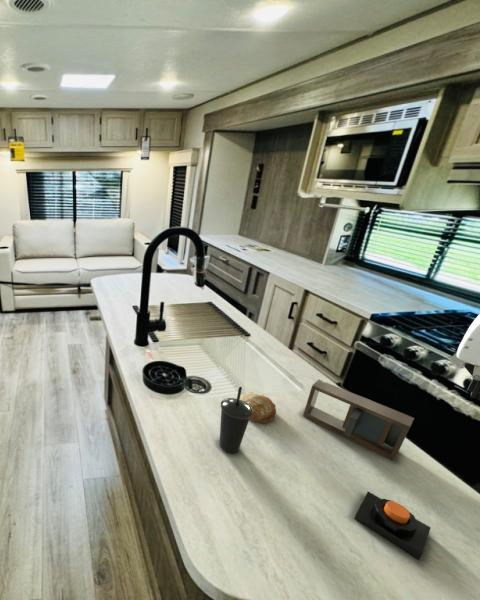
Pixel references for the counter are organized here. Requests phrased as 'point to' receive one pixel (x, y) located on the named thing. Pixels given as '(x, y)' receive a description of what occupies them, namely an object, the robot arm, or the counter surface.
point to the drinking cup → (233, 422)
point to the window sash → (366, 425)
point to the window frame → (397, 418)
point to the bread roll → (260, 407)
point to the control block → (393, 526)
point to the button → (396, 512)
